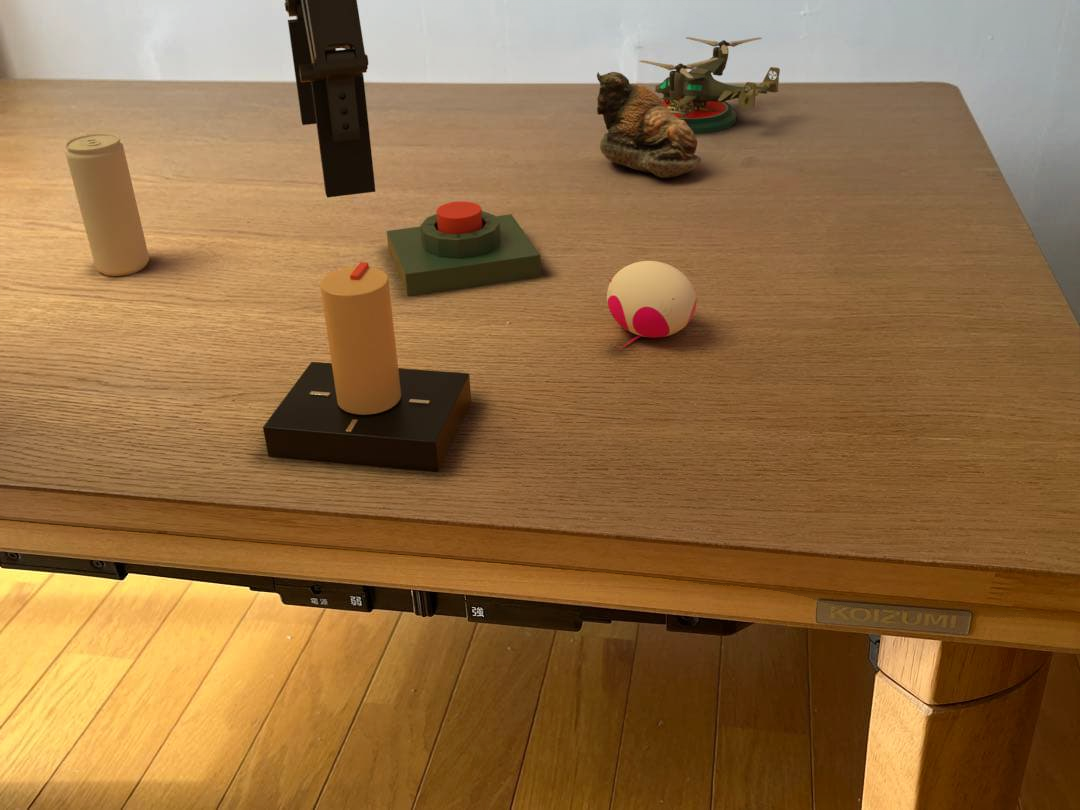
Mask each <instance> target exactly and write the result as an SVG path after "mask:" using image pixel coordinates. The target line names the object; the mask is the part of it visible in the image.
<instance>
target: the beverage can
mask: <svg viewBox="0 0 1080 810" xmlns="http://www.w3.org/2000/svg"><path fill="white" fill-rule="evenodd" d="M64 147H65V149H66V151H65V157H66V161H67V165H68V168H69V171H70V176H71V180H72V183H73V188H74V192H75V195H76V199H77V203H78V206H79V211H80V214H81V218H82V221H83V225H84V229H85V233H86V236H87V237H86V238H87V240H88V244H89V249H90V252H91V257H92V260H93V263H94V267H95V269H96V270H97V271H98V272H99V273H101V274H103V275H105V276H108V277H123V276H128V275H132V274H135V273H138V272H140V271H142V270H144V268H146V267H147V265H148V263H149V261H150V255H149V250H148V247H147V242H146V238H145V234H144V230H143V229H144V228H143V226H142V221H141V216H140V211H139V208H138V204H137V199H136V195H135V191H134V186H133V182H132V178H131V177H132V176H131V174H130V169H129V164H128V161H127V155H126V151H125V148H124V144H123V143H122V142H121V137H120V136H119V135H118V134H115V133H111V132H96V133H89V134H88V133H87V134H85V135H83V134H82V135H79V136H76V137H73V138H71V139H69V140H67V141H66V142H65V144H64Z"/></svg>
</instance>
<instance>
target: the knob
mask: <svg viewBox="0 0 1080 810" xmlns="http://www.w3.org/2000/svg"><path fill="white" fill-rule="evenodd" d="M319 287H320V295H321V300H322V308H323V314H324V321H325V327H326V335H327V341H328V347H329V354H330V355H329V356H330V363H332V369H333V376H334V383H335V390H336V397H337V403H338V405H339V407H340V408H341V409H343V410H344V411H346V412H348V413H352V414H357V415H370V414H377V413H381V412H384V411H386V410H389V409H391V408H392V407H394V406H395V405H396V404H397V403H398V402H399V401H400V398H401V388H400V379H399V370H398V368H399V363H398V353H397V345H396V336H395V335H396V334H395V326H394V325H395V324H394V318H393V309H392V307H393V306H392V299H391V289H390V282H389V276H388V274H387V272H385V271H384V270H382V269H380V268H377V267H372V266H370V265H369V262H366V261H365V262H363V261H360V262H359V263H358V264H357V266H348V267H343V268H339V269H336V270H334V271H331V272H329V273H328V274H326V275H324V276H323V277H322V279H321V280H320V283H319Z"/></svg>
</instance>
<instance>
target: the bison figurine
mask: <svg viewBox="0 0 1080 810" xmlns="http://www.w3.org/2000/svg"><path fill="white" fill-rule="evenodd" d="M596 78H597V80H598V82H599V86H600V87H599V91H598V95H597V99H596V100H597V107H596V114H597V115H598V116H600V115H602V117H603V121H604V124H605V128H606V130H607V132H606V133H604V134H603V136H602V138H601V140H600V143H599V149H600V151H601V154H603V156H604V157H605V159H606V160H608V161H610V162H612V163H614V164H618V165H621V166H624V167H627V168H630V169H632V170H635V171H639V172H642V173H643V172H644V173H648V174H651V175H655V177H657V178H662V179H669V178H675V177H679V176H682V175H685V174H686V173H689V172H692V171H693V170H695V169H697V168H698V167H699V166H700V164H701V161H702V159H701V157H700V156H699V155H696V154H695V153H696V151H697V147H698V140H697V136H696V134H694V132H693V131H692V129H691V128H689V126H688V125H687V123H686V122H685V121H684V120H680V119H678V118H677V117H676V116H675V115H674V114H673V113H672V112H671V111H670V110H669V109H668V108H667V107H666V106H665V105H664V103H663V102H662V100H660V99H661V98H660V97H659V96H658V95H657V94H656V92H653V91H651V89H649V88H647V87H646V86H644V85H642V84H639V83H638V84H633V83H630V80H629V79H628V77H626V76H625V75H624V74H622V73H620V72H617V71H610V72H607V73H605V74H600V72H599V71H597V74H596Z"/></svg>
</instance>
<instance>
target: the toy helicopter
mask: <svg viewBox="0 0 1080 810" xmlns="http://www.w3.org/2000/svg"><path fill="white" fill-rule="evenodd" d="M685 39H687V40H691V41H695V42H699V43H702V44H706V45H709V46H711V47H713V48H712V57H710V58H708V59H704V60H701V61H697V62H693V63H687V64H684V63H680V62H679V63H678V64H677V65H674V64H668V63H662V62H656V61H655V62H654V61H651V60H650V61H649V60H643V59H642V60H639V61H638V62H640V63H642V64H643V63H644V64H648V65H654V66H655V67H659V68H663V69H665V70H668V71H669V75H668V76H667V77H666V78H665V79H664V80H663V81H662V82H660V83H659V84H656V85H655V90H654V91H655V92H654V93H657V94H662V95H663V97H662V98H659V99H660V100H662V102H663V103H664V105H665V106H666V107H667V108H668V109H669V110H670V111H671V112H672V113H673V114H674V115H675V116H676V117H677V118H678V119H680V120H684V121H685V122H686V123H687V125H688V126H689V128H691V129H692V131H693V132H694V134H695V135H702V134H703V135H704V134H712V133H716V132H720V131H724V130H728V129H729V128H732V126H733V125H735V124H736V121H737V113H736V110H734V109H733V108H732V105H731V104H730V103H729V102H727V101H731V100H734V99H735V100H736V99H737V102H738V106H739V107H740V108H746V109H756V107H755V105H756V96H757V97H758V96H759V94H765V95H767V93H768V92H769V93H780V92H779V82H780V73H781V72H780V71H781V70H780V67H775V66H770V67H769V69H768V70H767V73H766V75H765V76H764V78H763V80H762V82H760V85H757V83H756V82H751V81H746V82H745V84H744V86H738V85H732V84H729V83H728V84H727V83H724V82H722V81H719V80H717V79H715V78H714V77H713V76H718V77H722V76H723V75H724V74H723V73H724V70H725V69H726V67H727V62H728V59H729V48H728V47H732V48H734V47H737V46H739V45H742V44H745V43H749V42H753V41H758V40H762V39H763V38H762V37H760V36H759V37H753V38H747V39H741V40H735V41H734V40H733V41H729V42H728V41H726V40H725V39H723V40H721V41H716V40H707V39H701V38H697V37H690V36H686V37H685ZM688 70H689V71H688ZM770 72H771V73H770ZM770 76H771V78H770ZM774 77H775V78H774Z"/></svg>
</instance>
